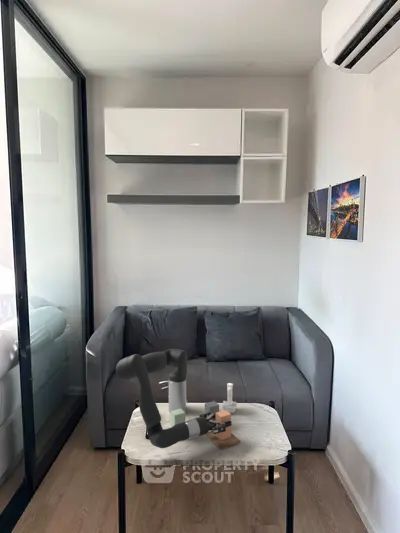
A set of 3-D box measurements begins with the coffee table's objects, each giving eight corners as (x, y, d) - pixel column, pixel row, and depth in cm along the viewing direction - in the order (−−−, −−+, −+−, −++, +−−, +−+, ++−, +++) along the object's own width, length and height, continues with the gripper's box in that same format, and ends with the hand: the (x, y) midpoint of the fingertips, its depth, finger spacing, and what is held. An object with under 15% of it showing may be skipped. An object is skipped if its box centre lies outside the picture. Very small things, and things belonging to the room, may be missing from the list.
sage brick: (170, 433, 176) (170, 411, 175) (181, 430, 179) (181, 408, 178) (174, 438, 172) (174, 415, 171) (185, 435, 175) (185, 412, 174)
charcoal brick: (204, 424, 184) (204, 403, 183) (214, 422, 187) (214, 400, 186) (209, 429, 180) (209, 407, 179) (219, 426, 183) (219, 404, 182)
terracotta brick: (215, 435, 172) (215, 412, 171) (225, 432, 175) (225, 409, 173) (220, 440, 168) (220, 417, 167) (230, 437, 171) (231, 414, 170)
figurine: (236, 407, 203) (236, 380, 201) (236, 415, 193) (236, 387, 192) (223, 406, 204) (223, 379, 202) (222, 414, 194) (222, 387, 193)
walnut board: (206, 435, 175) (206, 432, 174) (224, 429, 180) (224, 427, 179) (221, 449, 163) (221, 446, 163) (240, 443, 168) (240, 440, 168)
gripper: (203, 427, 157) (234, 417, 165) (187, 412, 169) (217, 404, 177) (203, 444, 158) (234, 433, 166) (187, 428, 170) (217, 419, 178)
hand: (225, 418), depth 171 cm, fingers open, 8 cm apart
